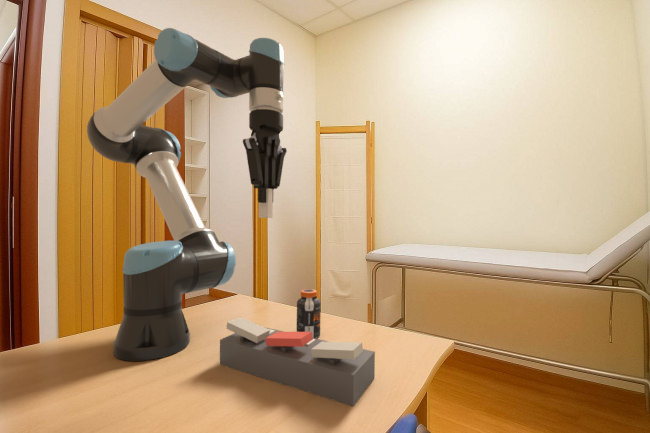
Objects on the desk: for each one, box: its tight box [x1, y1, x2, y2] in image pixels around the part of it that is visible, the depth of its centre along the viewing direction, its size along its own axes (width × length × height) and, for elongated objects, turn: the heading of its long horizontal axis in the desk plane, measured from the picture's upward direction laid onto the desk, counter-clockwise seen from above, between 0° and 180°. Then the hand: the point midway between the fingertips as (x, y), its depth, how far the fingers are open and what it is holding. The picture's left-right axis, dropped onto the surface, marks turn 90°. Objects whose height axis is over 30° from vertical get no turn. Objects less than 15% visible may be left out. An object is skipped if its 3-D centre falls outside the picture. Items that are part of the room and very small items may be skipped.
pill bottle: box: [296, 288, 322, 339], centre depth 81 cm, size 6×6×11 cm
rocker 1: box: [226, 316, 270, 343], centre depth 66 cm, size 8×4×1 cm, turn 62°
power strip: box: [219, 326, 376, 407], centre depth 63 cm, size 29×10×6 cm, turn 62°
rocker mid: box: [266, 331, 313, 347], centre depth 61 cm, size 8×4×1 cm, turn 62°
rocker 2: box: [311, 341, 364, 359], centre depth 56 cm, size 8×4×1 cm, turn 62°
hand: (265, 217), depth 73 cm, fingers closed
